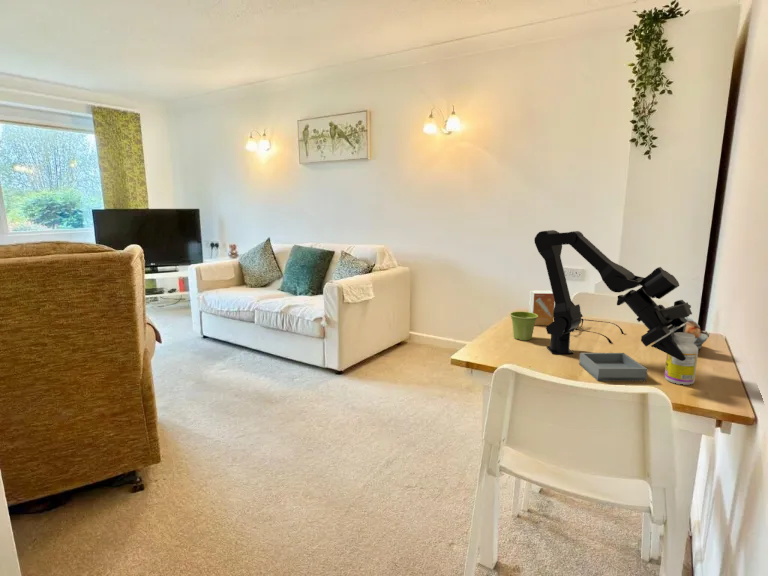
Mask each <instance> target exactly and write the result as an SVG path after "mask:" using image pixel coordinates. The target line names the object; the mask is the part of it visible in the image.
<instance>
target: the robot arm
mask: <svg viewBox="0 0 768 576" xmlns="http://www.w3.org/2000/svg"><path fill="white" fill-rule="evenodd" d="M534 244H535V247H536V249H537V251H538V253H539V255H540V256H541V257H542V259H543V260H544V262H545V263H544V264H545V266H546V271H547V276H548V280H549V284H550V287H551V291H552V292H553V297H554V301H555V302H554V312H553V322H552V323H551V324H550V325H548V326H547V325H546V326H545V330H546V333H547V335H550V345H547V346H546V348H547V350H548V351H549V352H550V353H551V354H552V355H553V354H554V355H574V352H573V350H571V349H570V344H571V333H574V332H573V331H576V330H575V329H576V327H577V328H578V327H579V326H580V324H582V320H581V319H582V318H583V317H584V316H583V314H582V312H581V306H580V304H579V303H578V304H575V303H574V302H573V301H572V298H571V296H570V291H569V287H568V282H567V279H566V275H565V271H564V266H563V262H562V258H561V256H562V255H561V254H562V249H563V246H564V245H569V246H570V247H572V248H573V249H574V250H575V251H576V252H577V253H578V254H579V255H580V256H581V257H582V258H584V260H585V261H587V262H588V263H589V265H591V266H592V267H593V268H594V269H595V270H596V271H597V272H598V274H599V275H600V277H601V279H602V281H603V283H604V284H605V285H606V287H607V288H608V289H609V290H610V291H611V292H613V293H623V292H625V291H628V290H629V291H628V292H626V293H625V294H619V295H618V296H617V302H616V305H617V306H621V305H623V304H626V305H627V306H628V307H629V309H630V310H632V312H633V313H634V314H635V315H636V317H637V318H636V320H637V322H638V323H640V322H642V324H643V325H644V326H645V327H646V328H647V329H648V330H647V331H646V332H645V333H644V334H643V335H641V339H640V342H641V343H642V344H643V345H644V346H645V347H648V346H650V347H651V348H655V349H656V350H659V351H662V352H663V353H665V354H666V355H667V354H669V355H671V356H673V357H675V358H677V359H679V360H681V361H684V360H685V359H686V358H685V356H684V355H683V353H682V352H681V350H680V349H679V347H678V346H677V344H676V343H675V341H674V333H676V332H683V333H685V328H686V324H685V325H684V326H682V327H681V325H682V324H684V323H686V322H687V320H686V319H685V317H688V318H689V317H690V316H691V315H693V312H692V309H691V308H692V305H691V304H689V302H688V301H687V302H685V301H684V300H683V299H679V300H676V301H674V302H673V305H671V306H669V307H668V306H667V307H665V306H664V305H662V304H657V303H656V301H654V299H655V298H656V299H658V300H661V299H662V298H664V297H665V296H667V295H668V294H670V293H671V292H673V291H674V290H675V289H677V288H678V287H680V283H679V280H678V279H677V278H676V277H675V276H674V275H673V274H671V273H670V272H669V271H667V270H665V269H663V267H661V266H659V267H656V268H655V269H654V270H653V271H652V272H651V273H649V274H648V275H647V276H645V277H643V276H640V275H635V274H634V273H633V272H632V271H631V270H628V269H627V268H626V267H624V266H623V265H620V264H618V263H615V262H614V261H612V260H611V259H610V258H609V257H608V256H607V255H606V254H604V253H603V252H602V251H601V250H600V249H598V248H597V246H596V245H594V244H593V243H592V242H591V241H590V240H589V239H588V238H586V236H584V234H583V232H581V231H579V230H573V231H569V232H558V231H557V230H556V229H551V230H542V231H541V230H540V231H539V232H537V233H536V235H535V236H534ZM639 286H640V287H639ZM637 287H638V289H636V290H635V288H637Z"/></svg>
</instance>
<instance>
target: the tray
mask: <svg viewBox="0 0 768 576" xmlns="http://www.w3.org/2000/svg"><path fill="white" fill-rule="evenodd" d="M578 364H579V366H581V367H582V368H583V369H584V370H585V371H586V372H587V373H588V374H590V375H591V376H592V378H594V379H595V380H596V381H597V382H646V381H647V377H648V376H647V375H648V368H647V367H645V366H644V365H642V364H641V363H639V362H638V361H636V360H635V359H633V358H632V357H631V356H630V355H627V353H625V352H580V353H579V361H578Z"/></svg>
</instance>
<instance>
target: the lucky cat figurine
mask: <svg viewBox="0 0 768 576" xmlns="http://www.w3.org/2000/svg"><path fill="white" fill-rule="evenodd" d="M685 319H686V320H687V322H686V323H684V324H682V325H681V327H682V326H684V325H685V324H686V328H685V333H690V334H693V335H695V341H694V343H693V344H694V345H696V346H697V347H698V350H701V348H702V345H703V344H704V343H706V342H707V340H708V339H709V338H710V332H708V331H706V330H702V329H701V327H700V325H699V324H698V323H697V322H696V321H694V320H693V319H692V318H690V317H689V316H688V317H685Z"/></svg>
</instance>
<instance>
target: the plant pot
mask: <svg viewBox="0 0 768 576" xmlns="http://www.w3.org/2000/svg"><path fill="white" fill-rule="evenodd" d="M509 316H510V318H511V323H512V333H513V338H514V339H516V340H520V341H529V340H532V338H533V333H534V328H535V325H534V324H535V321H536V319H537V317H538V315H537V314H535V313H531V312H529V311H521V310H519V311H512V312H510V313H509Z"/></svg>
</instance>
